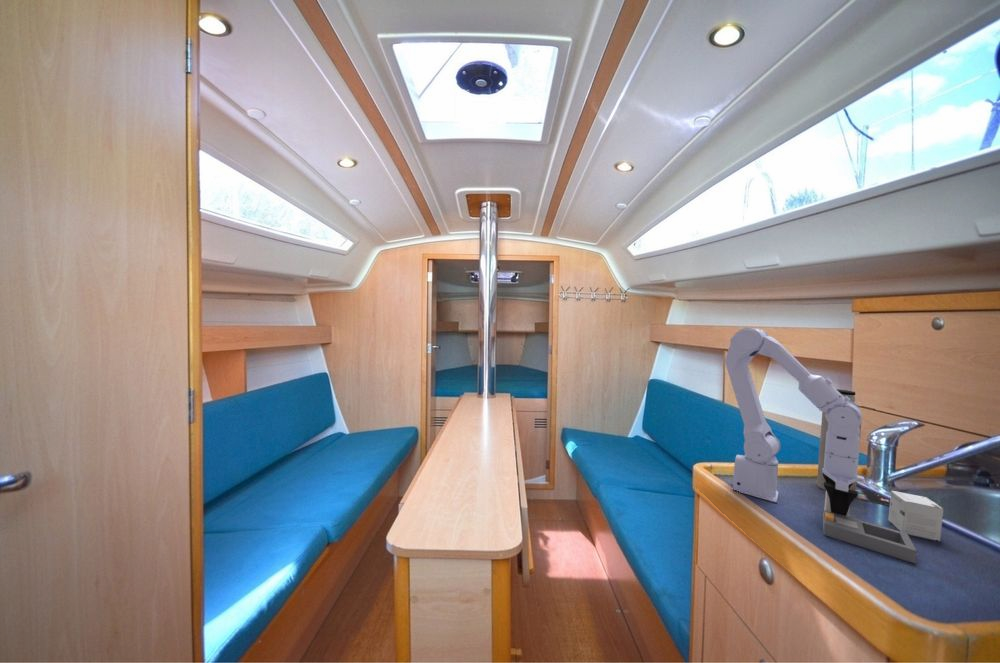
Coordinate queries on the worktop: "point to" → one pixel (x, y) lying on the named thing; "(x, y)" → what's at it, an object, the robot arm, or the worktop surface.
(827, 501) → the light grey rectangular block
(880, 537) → the sliding tray box
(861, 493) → the smartphone
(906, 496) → the skincare box
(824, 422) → the thermos bottle
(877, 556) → the worktop surface
